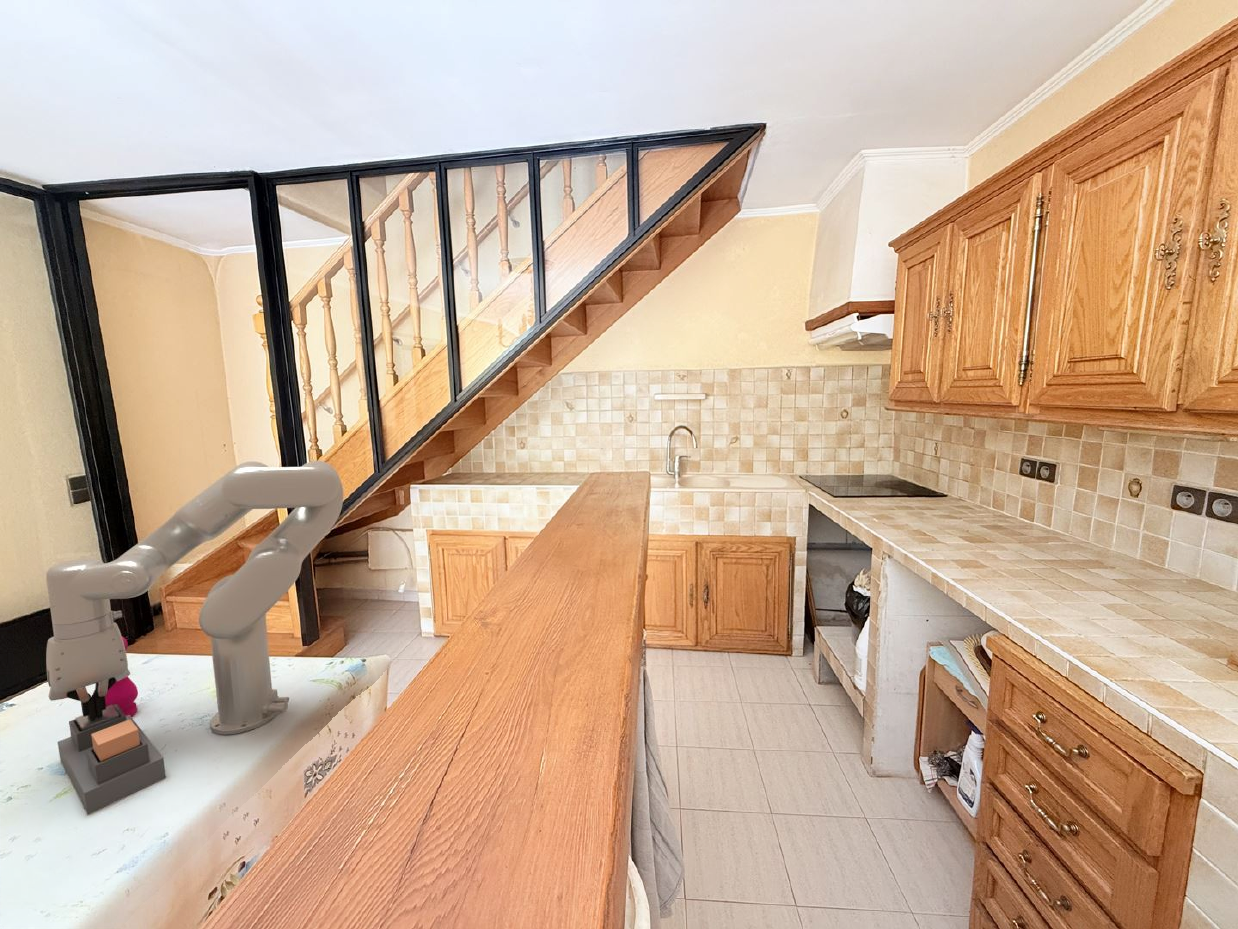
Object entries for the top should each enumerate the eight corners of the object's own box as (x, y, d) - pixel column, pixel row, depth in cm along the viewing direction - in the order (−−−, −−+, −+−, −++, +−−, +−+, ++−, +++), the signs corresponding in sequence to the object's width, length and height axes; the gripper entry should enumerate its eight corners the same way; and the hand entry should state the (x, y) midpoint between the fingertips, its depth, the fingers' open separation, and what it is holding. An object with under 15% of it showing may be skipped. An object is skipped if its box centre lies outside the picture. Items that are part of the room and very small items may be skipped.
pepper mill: (110, 730, 104) (97, 639, 102) (84, 725, 106) (70, 636, 103) (149, 709, 111) (138, 624, 109) (123, 705, 113) (112, 621, 110)
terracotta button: (140, 744, 89) (138, 729, 89) (100, 761, 85) (98, 745, 85) (132, 734, 92) (130, 719, 92) (93, 749, 88) (91, 734, 87)
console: (166, 777, 91) (161, 740, 90) (87, 815, 83) (81, 774, 82) (131, 732, 104) (127, 699, 103) (60, 761, 95) (54, 724, 94)
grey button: (120, 728, 97) (118, 713, 97) (83, 742, 93) (81, 727, 93) (113, 718, 100) (111, 704, 100) (77, 732, 96) (75, 718, 96)
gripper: (132, 607, 102) (141, 691, 104) (18, 635, 90) (32, 729, 92) (143, 616, 98) (152, 704, 100) (25, 647, 86) (39, 745, 88)
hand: (95, 716), depth 96 cm, fingers closed
